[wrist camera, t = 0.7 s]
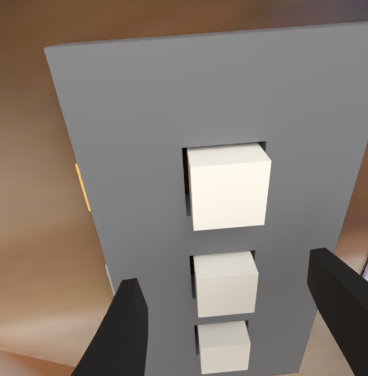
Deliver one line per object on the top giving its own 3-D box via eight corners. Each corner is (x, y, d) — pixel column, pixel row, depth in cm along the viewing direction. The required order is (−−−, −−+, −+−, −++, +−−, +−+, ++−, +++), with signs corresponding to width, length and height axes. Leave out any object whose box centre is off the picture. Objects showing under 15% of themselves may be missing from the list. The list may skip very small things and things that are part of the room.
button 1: (256, 141, 16) (271, 160, 14) (252, 200, 18) (264, 224, 16) (186, 147, 16) (190, 167, 14) (190, 205, 18) (193, 230, 16)
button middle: (248, 246, 20) (258, 273, 18) (245, 284, 22) (254, 312, 20) (192, 251, 20) (196, 279, 18) (195, 288, 22) (198, 317, 20)
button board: (368, 21, 15) (403, 21, 12) (288, 348, 31) (298, 372, 29) (55, 43, 14) (36, 48, 12) (141, 362, 30) (139, 388, 28)
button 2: (243, 315, 24) (250, 343, 22) (240, 341, 26) (247, 369, 24) (197, 319, 24) (200, 348, 22) (198, 345, 26) (201, 374, 24)
